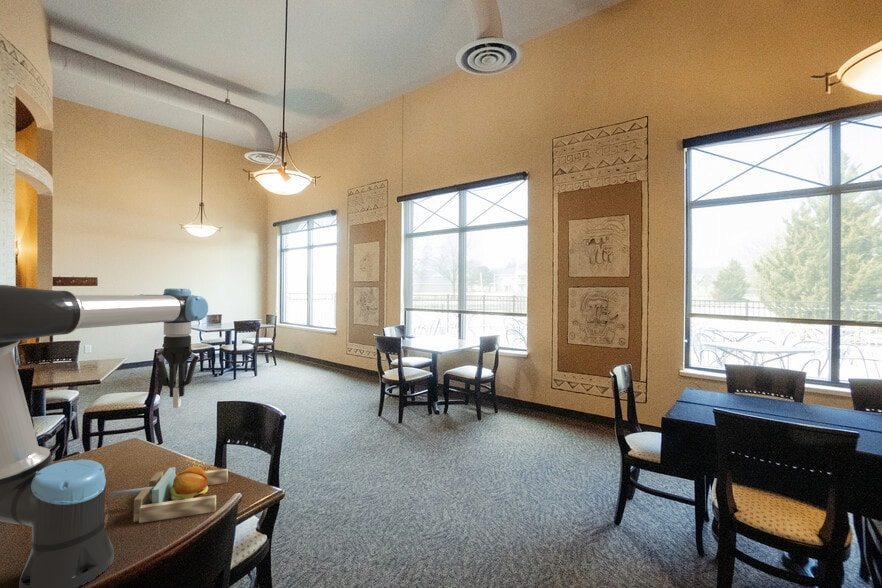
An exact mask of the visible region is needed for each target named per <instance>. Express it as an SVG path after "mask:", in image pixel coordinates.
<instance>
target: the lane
mask: <svg viewBox="0 0 882 588" xmlns="http://www.w3.org/2000/svg"><path fill="white" fill-rule="evenodd" d="M204 471H205V472H206V474H207V476H208V477H209V478H208V485H207V486H213V485H220V484H227V483H228V480H229V469H228V468H221V469H212V470H204ZM163 476H164V471H162V470H160V471H156V473H155V474H154V475H153V476H152V477H151V478H150V480H149V484H148V485H149V486H148V487H154V486H156V485H157V483H158V482H159V481H160V480H161V478H162V477H163ZM176 476H177V474H175V477H176ZM145 488H146V487H145ZM150 502H152V492H150V488H146V489H143V490H142V491H141V492H140V493H139V494H137V496H136V497H135V498H134V499H133V523H135V522H138V523H139V524H143V523H148V522H155V521H162V520H169V519H175V518H183V517H189V516H195V515H202V514H207V513H208V514H210V513H214V512H216V510H217V494H214V495H213V494H212V495H206V496H205V495H204V496H203V497H198V498H191V499H183V500H176V501H171V500H168V501H167V502H161V503H154V504H152V503H150Z"/></svg>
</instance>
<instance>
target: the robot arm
mask: <svg viewBox="0 0 882 588" xmlns="http://www.w3.org/2000/svg"><path fill="white" fill-rule="evenodd" d="M208 313H209V303H208V301H207V299H205V297H203V296H201V295H200V296H199V295H193V294H192V291H191V290H190V288H189V289H188V288H165V289H164V291H163V294H135V295H134V294H133V295H132V294H131V295H128V294H127V295H125V294H123V295H122V294H121V295H120V294H119V295H115V294H110V295H109V294H108V295H107V294H105V295H104V294H103V295H102V294H101V295H99V294H98V295H94V294H93V295H92V294H79V295H77V294H74V293H73V292H71V291H69V290H55V289H54V290H53V289H43V288H42V289H41V288H32V287H26V286H24V287H23V286H17V285H8V284H0V523H9V524H15V525H22V526H27V527H31V551H30V553H29V556H28V558H27V561H26V563H25V566H24V568H23V570H22V573H21V575H20V578H19V581H18V583H19V584H18V588H77V587H79V586H81V585H83V584H84V583H86V582H89V583H90V582H92V581H94V580H96V579H97V578H96V576H98V575H99V574H101V573H102V572H104V571H105V570H106V569H107V568H108V567H109V566H110V565H112V564H113V562H114V559H115V548H114V545H113V542H112V541H111V539H110V537H109V534H108V532H107V531H106V528H105V512H106V511H105V510H106V509H105V508H106V506H105V504H106V483H107V479H106V475H105V467H104V468H103V466H102V465H101V464H102V463H100V462H98V461H95V460H92V459H85V458H84V459H83V458H82V459H76V460H73V459H70V460H64V461H58V462H56V463H54V461H53V457H52V454H51V451H50V449H49V448H48V447H44V446H41V445H40V446H39V443H38V439H37V436H36V431H35V428H34V424H33V421H32V417H31V414H30V411H29V410H30V409H29V406H28V403H27V400H26V395H25V392H24V391H25V390H24V388H23V384H22V380H21V377H20V374H19V371H18V366H17V362H16V359H15V355H14V352H13V350H14V348H15V347H16V346H17V345H18V344H19V343H20V342H21V341H24V340H30V339H38V338H45V337H53V336H60V335H61V336H62V335H69V334H71V333H73V332H75V331H76V330H79V329H90V328H104V327H117V326H130V325H143V324H144V325H145V324H155V323H156V324H158V323H163V335H165V336H163V349H162V352H161V354H159V355H158V356H156V357H153V361H154V363H155V364H156V365H157V369H158V374H159V376H160V380H161V384H162V386H163V387H168V388H169V397H170V398H172V409H175V408H179V407H181V405H182V397H183V396H184V395H185V386H188V385H190V384H192V383H191V382H192V380H193V377H194V372H195V370H196V365H197V362H198V361H199V360H200V358H201V355H199V354H196V353H194V352H193V349H192V336H191V333H192V322H198V321H202V320H204V319H205V318H206V316H207V315H208ZM189 358H190V363H189V366H188V370H187V374H186V362H187V361H188V360H189ZM165 360H166V362H167V363H168V368H169V369H168V370H169V371H167V368H166V365H165ZM177 366H178V369H177ZM177 370H178V375H177ZM168 372H169V373H168ZM177 376H178V377H177ZM177 378H178V381H177ZM177 382H178V385H177ZM110 567H111V566H110ZM110 567H109V568H110ZM109 568H108V569H109ZM108 569H107V570H108ZM107 570H106V571H107ZM106 571H105V572H106ZM105 572H104V573H105ZM101 575H102V574H101ZM95 578H96V579H95ZM83 586H84V585H83ZM81 587H82V586H81ZM79 588H80V587H79Z"/></svg>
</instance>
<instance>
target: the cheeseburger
mask: <svg viewBox="0 0 882 588" xmlns="http://www.w3.org/2000/svg"><path fill="white" fill-rule="evenodd" d="M205 471H206V470H204V469H203V468H202V467H200V466H197V465H195V466H194V465H193V466H190V467H188V468H185V469H183V470H182V471H180V472H178V473H177V474H176V475H177V476H176V477H175V478H174V482H173V485H172V486H171V488H170V493H171V495H170V498H169V499H170V501H176V500H183V499H191V498H198V497H205V495H206V494H207V493H208V491H209V485H208V478H209V477H208V476H207V474H206V472H205Z"/></svg>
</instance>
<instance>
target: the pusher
mask: <svg viewBox="0 0 882 588" xmlns="http://www.w3.org/2000/svg"><path fill="white" fill-rule="evenodd" d="M176 470H177V469H176V467H175V466H173V467H169V468H168V469H167V470H166V471H165V473H163V477H162V478H161V480H160V481H159V482H158V483H157V485H156V486H154V487H149V486H148V487H147V486H146V487H138V488H132V489H131V488H130V489H123V490H116V491H114V490H113V491H110V492H109V498H114V497H115V498H116V497H123V496H132V495H138V494H139V493H140V492H141V491H142V490H143V489H146V488H150V492H152V501H151V504H154V503H161V502H169V501H170V499H171V498H170V495H171V493H170V488H171V486H172V485H173V482H174V478H175V475H176Z"/></svg>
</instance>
